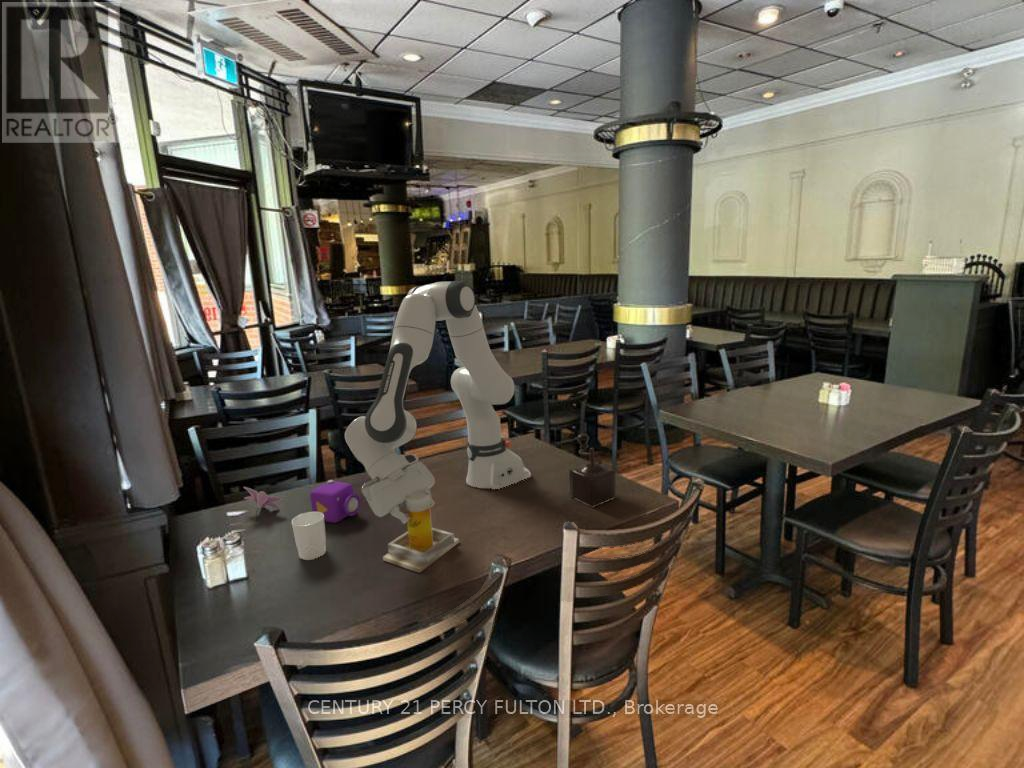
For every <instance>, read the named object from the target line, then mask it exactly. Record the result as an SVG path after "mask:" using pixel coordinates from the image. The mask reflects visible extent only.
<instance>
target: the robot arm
mask: <svg viewBox="0 0 1024 768" xmlns="http://www.w3.org/2000/svg"><path fill="white" fill-rule="evenodd" d="M439 321H440V322H442V321H445V324H446V327H447V330H448V332H447V333H448V335H449V339H450V341H451V346H452V348H453V351H454V356H455V357H456V359H457V360H458V362H459V363H461V365H462V366H460V367H458V368H457V369H455V370H454V371H453V373H452V374H451V378H450V385H451V390H452V391H453V392H454V393H455V394H456V396H457V399H459V401H460V404H461V406H462V409H463V412H464V416H465V419H466V425H467V426H466V427H467V429H466V430H467V439H468V440H467V443H466V444H467V445H466V446H467V448H466V453H467V458H468V467H467V474H466V478H465V483H466V484H467V485H468V486H471V487H472V488H476V487H477V489H490V488H491V490H495V489H499V490H501V489H500V488H502V489H504V488H503V487H505V488H507V487H509V485H510V486H512V485H511V484H513V485H515V484H517V482H518V483H520V482H519V481H521V480H523V481H525V480H524V479H526V480H528V479H527V478H529V477H532V473H531V471H530V470H529V469H528V468H526V466H525V465H524V462H523V460H522V458H521V457H520V455H518V454H516V453H515V452H513V451H511V450H510V449H508V448H512V446H513V444H512V442H511V441H509V440H507V439H504V438H502V434H501V433H502V430H501V418H500V416H499V414H498V413H497V411H495V409H494V407H493V405H505V404H507V403H508V402H510V400H511V399H512V398H513V396H514V394H515V382H514V379H513V378H512V377H511V376H510V375H509V374H508V373H507V372H505V371H504V369H503V368H502V367H501V366H500V364H499V362H498V361H497V359H496V357H495V355H494V354H493V352H492V350H491V348H490V345H489V341H488V339H487V338H488V337H487V335H486V331H485V328H484V327H485V326H484V324H483V321H482V318H481V315H480V312H479V310H478V307H477V304H476V294H475V293H474V290H473V288H472V287H471V286H470V285H469V284H468V282H465V281H462V280H453V281H436V282H434V283H433V282H432V283H428V284H424V285H423V284H420V285H417V286H415V287H412V288H411V289H409V291H408V292H407V294H406V296H405V297H404V298H403V299H402V301H401V303H400V306H399V308H398V311H397V314H396V317H395V321H394V325H393V331H392V336H391V340H390V346H389V347H390V348H389V352H388V354H387V358H386V362H385V365H384V369H383V372H382V377H381V380H380V384H379V388H378V392H377V395H376V398H375V400H374V401H373V403H372V404H371V405H370V408H369V409H367V412H366V414H365V416H363V415H361V416H359V417H357V418H355V419H354V420H352V421H351V422H350V424H348V425H347V427H346V430H345V432H344V440H345V442H346V444H347V446H348V447H349V449H350V452H352V454H353V455H354V457H355V458H356V460H357V461H358V462H360V464H362V466H363V467H364V469H365V471H366V473H367V474H368V475H369V477H370V478H371V480H369V481H367V482H366V481H365V482H364V483H363V485H362V486H361V493H362V494H363V496H364V498H365V499H366V501H367V503H368V505H369V507H370V509H371V510H372V512H373V513H374V515H375V516H376V517H379V518H383V517H384V516H386V515H388V514H389V513H390V515H391V516H392V517H395V518H396V519H398V520H400V522H401V523H402V524H403V525H405V524H407V522H408V521H409V520H410V519H411V518H410V517H409V515H408V514H407V513H406V512H405V513H403V512H402V511H401V510H400V507H401V506H402V505H404V504H406V503H405V500H406V495H407V494H408V496H409V494H411V493H413V492H411V491H415V490H424V491H426V492H427V493H428V495H429V497H430V509H431V508H432V507H433V506H435V504H436V502H435V501H434V500H433V497H432V492H431V488H432V487H433V486H434V485H435V484H436V479H435V477H434V475H433V474H432V472H431V471H430V470H429V469H428V467H427V466H426V465H425V464H424V463H423V462H420V461H419V457H418V455H416V454H415V453H411V454H409V453H408V454H398V453H397V452H396V451H395V450H396V449H399V448H401V446H403V445H405V444H407V443H408V442H410V441H411V440H412V439H413V438H414V437H415V435H416V433H417V430H418V423H417V420H416V418H415V416H414V415H413V414H412V413H411V412H409V411H408V410H406V409H404V398H405V394H406V389H407V384H408V381H409V376H410V373H411V371H412V369H414V368H415V367H416V366H417V365H421V364H423V363H424V362H425V361H426V360H428V357H429V356H430V352H431V350H432V347H433V343H434V336H435V331H436V322H439ZM529 479H530V478H529ZM521 482H522V481H521ZM514 483H515V484H514ZM506 486H507V487H506Z"/></svg>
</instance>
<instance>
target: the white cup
mask: <svg viewBox="0 0 1024 768" xmlns="http://www.w3.org/2000/svg"><path fill="white" fill-rule="evenodd" d="M325 522H326V521H324V514H323V513H321V512H312V511H308V512H304V513H300V514H298V515H296V516H295V517H293V518H292V519H291V527H292V530H293V535H294V536H293V537H294V540H295V541H294V542H295V545H296V549H297V552H298V558H299V559H300V560H302V559H303V561H304V560H305V561H311V560H312V561H313V560H316V559H318V557H319V558H321V557H322V556H324V555H325V554H326V552H327V547H326V546H327V544H326V536H327V535H326V525H325ZM320 556H321V557H320ZM315 558H316V559H315Z"/></svg>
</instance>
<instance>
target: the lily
mask: <svg viewBox="0 0 1024 768" xmlns="http://www.w3.org/2000/svg"><path fill="white" fill-rule="evenodd" d="M243 489H244V490H246V491H247V492H248V493H249V494H250V495H248V496H246V497H244V498H243V499H245V500H249V501H254V502H255V503H256V504H257V509H256V513H255V519H254V520H255V521H257V517H258V510H259V508H260V507H262V508H266V507H267V506H268V507H271V508H275V509H277V510H279V509H280V507H279V506H278V504H275V503H277V502H281V501H284V498H281V497H279V496H275V495H268V494H267V493H266V491H263V490H261V491H257V490H255V489H252V488H250V487H247V486H243Z"/></svg>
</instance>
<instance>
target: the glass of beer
mask: <svg viewBox="0 0 1024 768" xmlns="http://www.w3.org/2000/svg"><path fill="white" fill-rule="evenodd" d="M411 492H413V493H411V494H409V496H408V494H407V495H406V500H405V503H404V504H405V511H406V512H405V514H406V513H407V514H408V515H409V517H410V518H411V519H410V520H409V521H408V522H407V523H406V524H407V531H408V536H409V546H410V549H413V550H416V551H419V552H422V553H424V552H425V551H427V550H428V549H429V548H431V547H432V546H433V534H432V528H433V525H432V523H433V522H432V512H431V508H430V497H429V495H428V493H427V492H426V491H424V490H415V491H411Z"/></svg>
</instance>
